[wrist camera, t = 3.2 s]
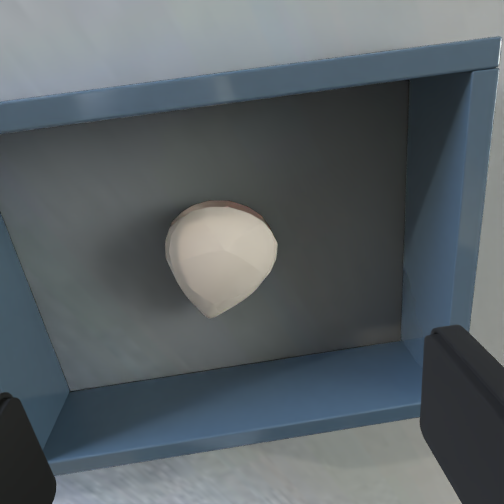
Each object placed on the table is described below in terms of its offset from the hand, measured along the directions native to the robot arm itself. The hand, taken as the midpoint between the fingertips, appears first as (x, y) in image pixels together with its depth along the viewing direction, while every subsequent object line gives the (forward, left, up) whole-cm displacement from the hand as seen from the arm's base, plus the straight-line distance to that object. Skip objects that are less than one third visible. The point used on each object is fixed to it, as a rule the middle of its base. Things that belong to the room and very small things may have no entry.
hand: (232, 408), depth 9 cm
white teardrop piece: (0, 0, -9) cm, 9 cm away
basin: (0, 0, -9) cm, 9 cm away
